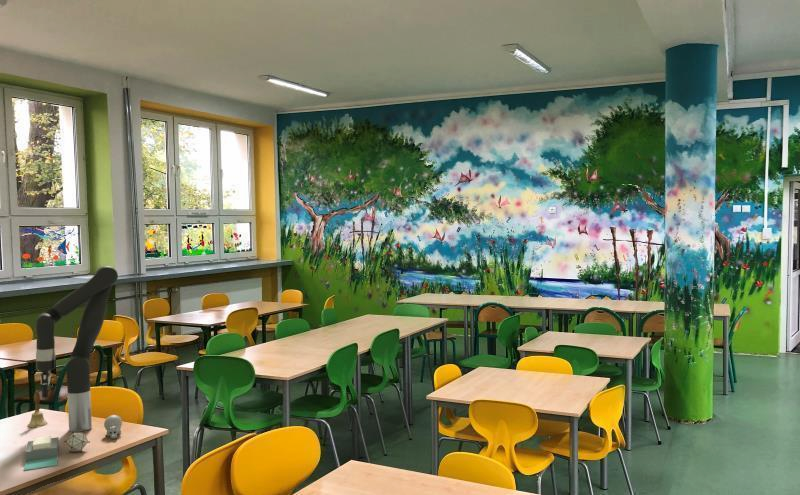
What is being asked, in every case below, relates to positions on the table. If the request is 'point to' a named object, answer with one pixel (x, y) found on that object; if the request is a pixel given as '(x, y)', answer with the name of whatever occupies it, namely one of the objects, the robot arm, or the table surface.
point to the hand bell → (37, 413)
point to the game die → (77, 441)
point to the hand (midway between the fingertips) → (45, 395)
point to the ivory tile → (42, 442)
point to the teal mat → (40, 463)
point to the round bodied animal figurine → (113, 426)
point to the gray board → (42, 451)
